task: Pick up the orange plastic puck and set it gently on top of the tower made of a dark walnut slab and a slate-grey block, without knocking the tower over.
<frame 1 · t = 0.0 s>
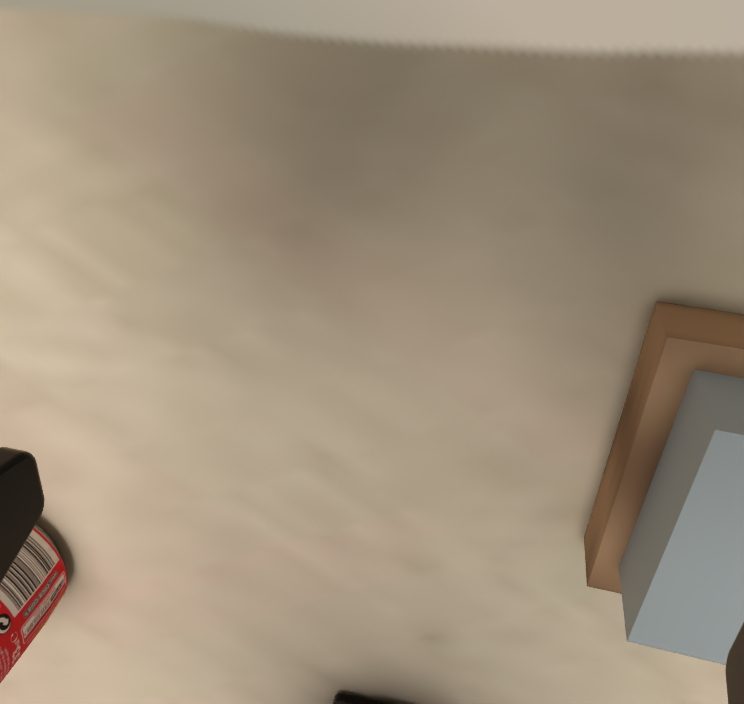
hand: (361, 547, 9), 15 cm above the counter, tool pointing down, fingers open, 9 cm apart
soda can: (17, 543, 35), on the counter
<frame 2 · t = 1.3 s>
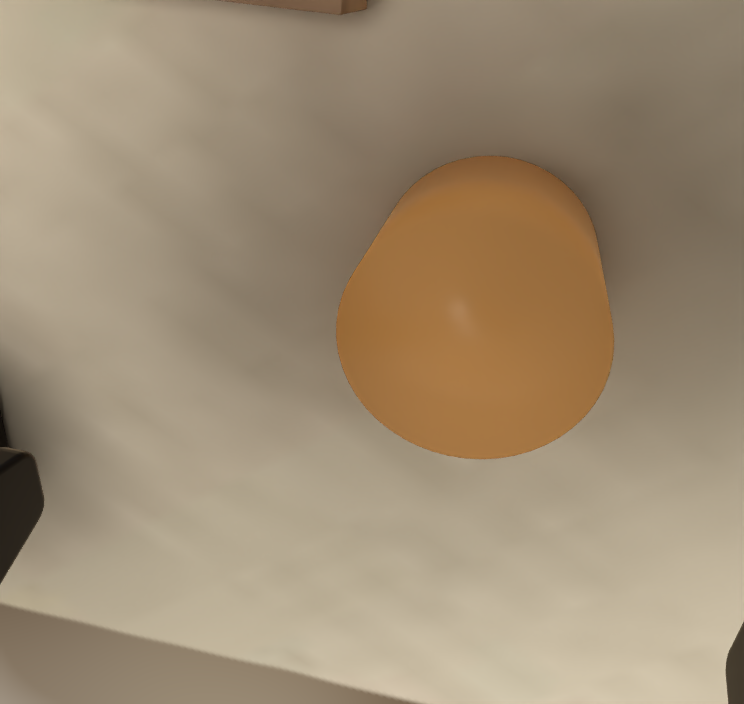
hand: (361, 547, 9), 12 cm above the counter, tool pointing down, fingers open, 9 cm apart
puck: (486, 263, 19), on the counter
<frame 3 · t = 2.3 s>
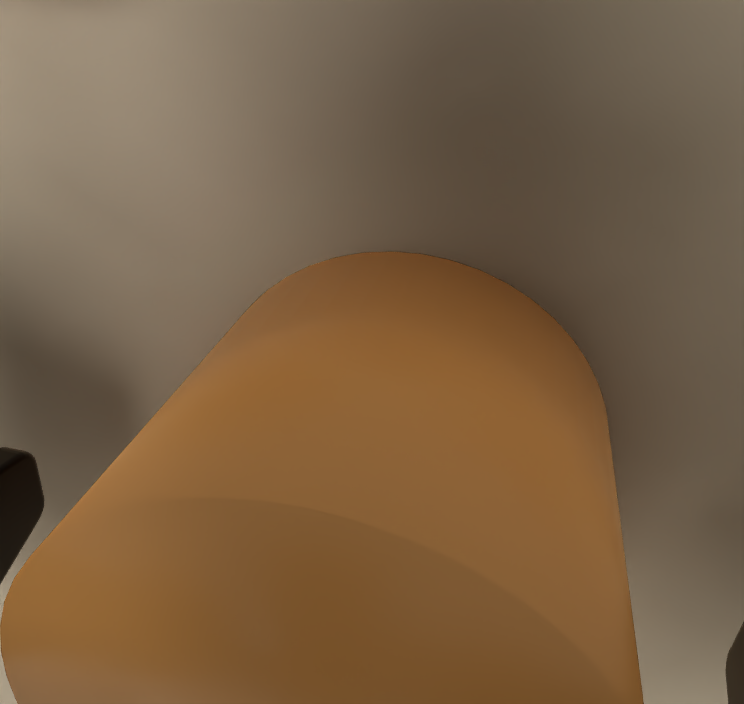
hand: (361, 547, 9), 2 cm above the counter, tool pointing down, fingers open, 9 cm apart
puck: (401, 436, 11), on the counter
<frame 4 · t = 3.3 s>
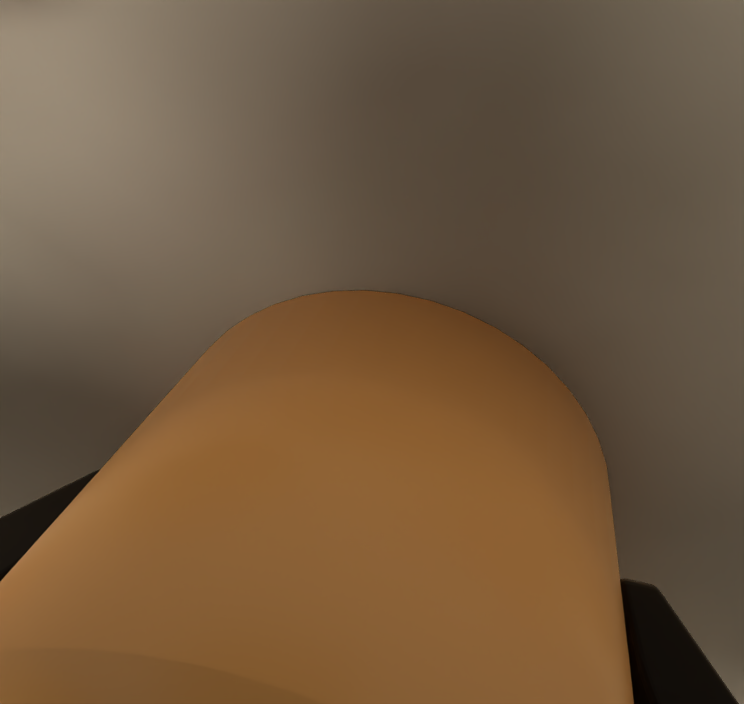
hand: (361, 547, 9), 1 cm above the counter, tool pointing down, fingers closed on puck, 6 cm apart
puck: (378, 492, 9), on the counter, touching gripper
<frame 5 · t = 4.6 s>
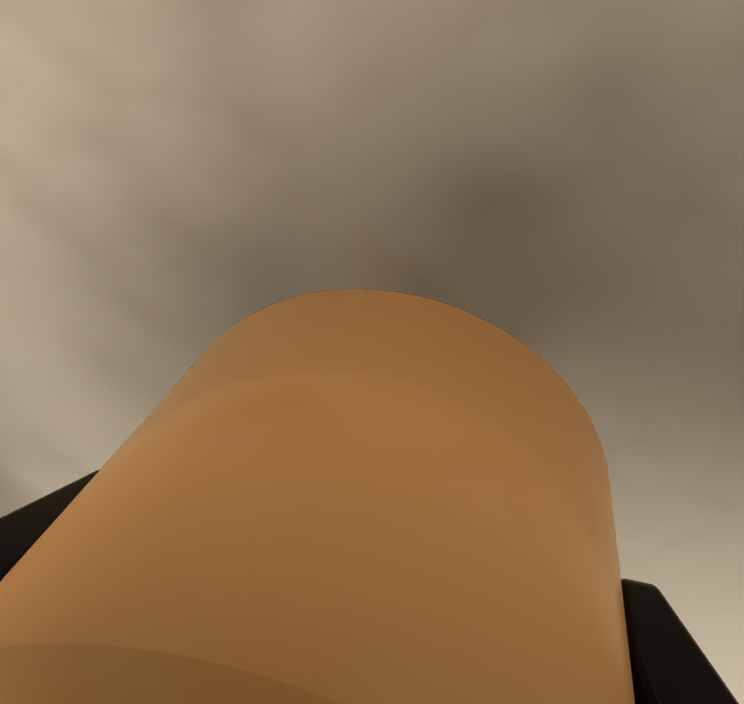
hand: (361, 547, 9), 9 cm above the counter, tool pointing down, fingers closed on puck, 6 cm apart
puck: (379, 490, 9), point 7 cm above the counter, touching gripper
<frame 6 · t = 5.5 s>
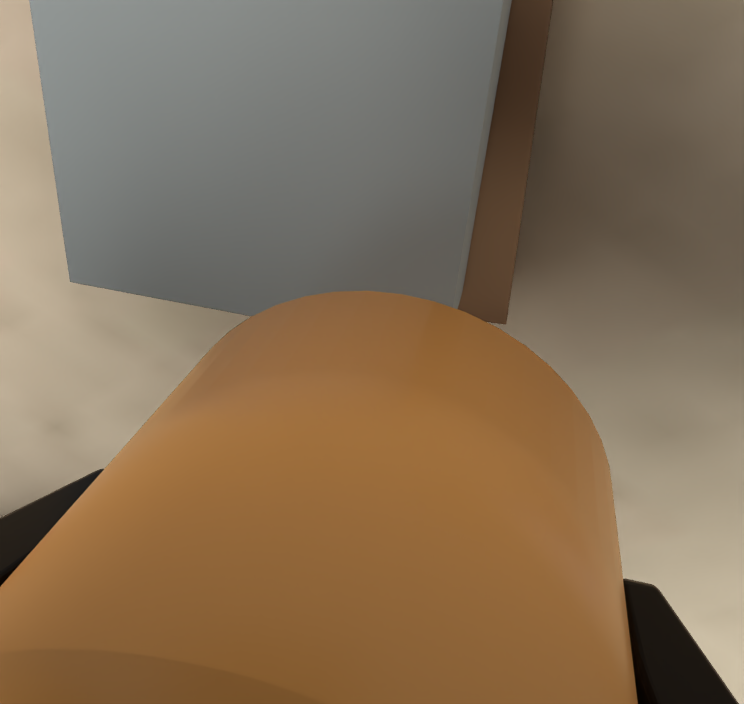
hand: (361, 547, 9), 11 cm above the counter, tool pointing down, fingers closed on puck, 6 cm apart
tower top: (302, 85, 14), point 2 cm above the counter
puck: (381, 492, 9), point 10 cm above the counter, touching gripper
tower base: (334, 64, 17), on the counter
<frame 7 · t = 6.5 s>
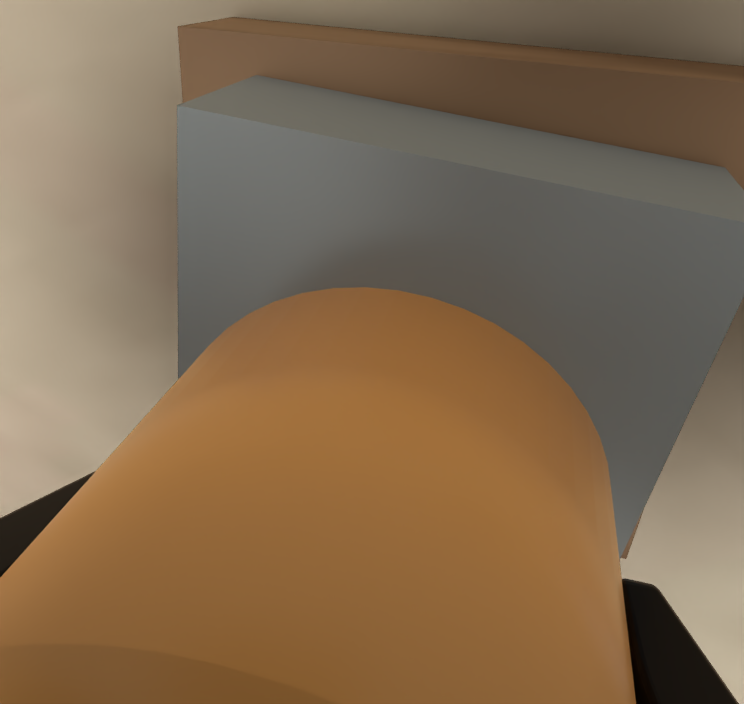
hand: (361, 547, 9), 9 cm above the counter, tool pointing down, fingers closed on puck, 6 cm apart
tower top: (436, 325, 14), point 2 cm above the counter, touching tower base
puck: (379, 489, 9), point 7 cm above the counter, touching gripper
tower base: (448, 269, 16), on the counter, touching tower top
when the fingers open (8 cm above the counter, at t = 7.2 s): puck drops 2 cm, resting on tower top.
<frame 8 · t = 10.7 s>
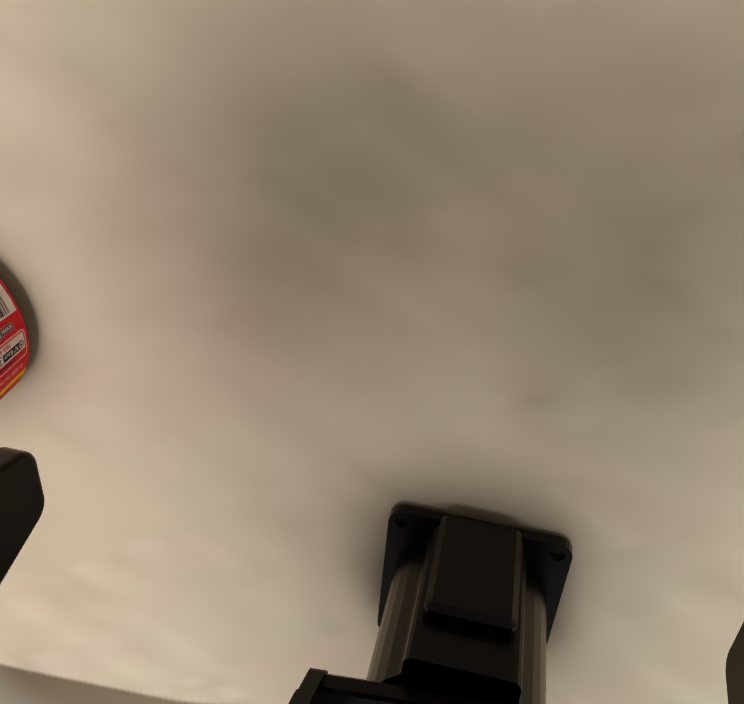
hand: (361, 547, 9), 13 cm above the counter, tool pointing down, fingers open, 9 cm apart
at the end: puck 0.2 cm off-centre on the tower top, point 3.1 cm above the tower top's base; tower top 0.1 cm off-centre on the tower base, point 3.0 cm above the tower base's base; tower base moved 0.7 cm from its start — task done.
